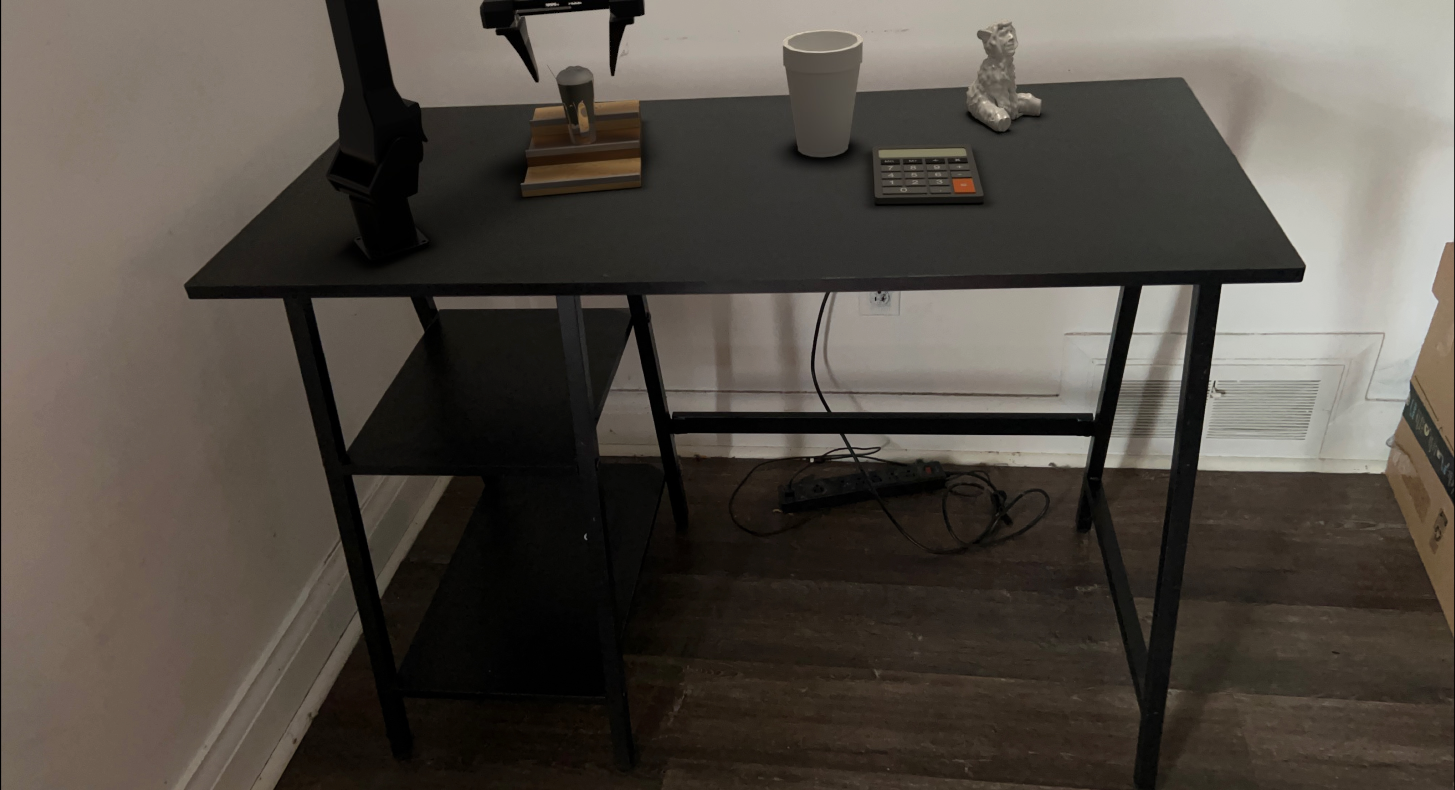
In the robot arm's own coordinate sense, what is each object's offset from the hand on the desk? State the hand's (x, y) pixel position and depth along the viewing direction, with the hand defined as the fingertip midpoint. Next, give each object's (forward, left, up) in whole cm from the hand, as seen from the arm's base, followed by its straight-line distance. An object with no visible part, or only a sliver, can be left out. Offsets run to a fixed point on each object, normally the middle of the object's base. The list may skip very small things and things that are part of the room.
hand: (575, 78), depth 116 cm
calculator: (-33, -27, -10) cm, 44 cm away
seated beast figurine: (-25, -47, -10) cm, 54 cm away
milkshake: (0, 0, -8) cm, 8 cm away
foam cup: (-18, -24, -10) cm, 32 cm away
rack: (0, 0, -10) cm, 10 cm away
